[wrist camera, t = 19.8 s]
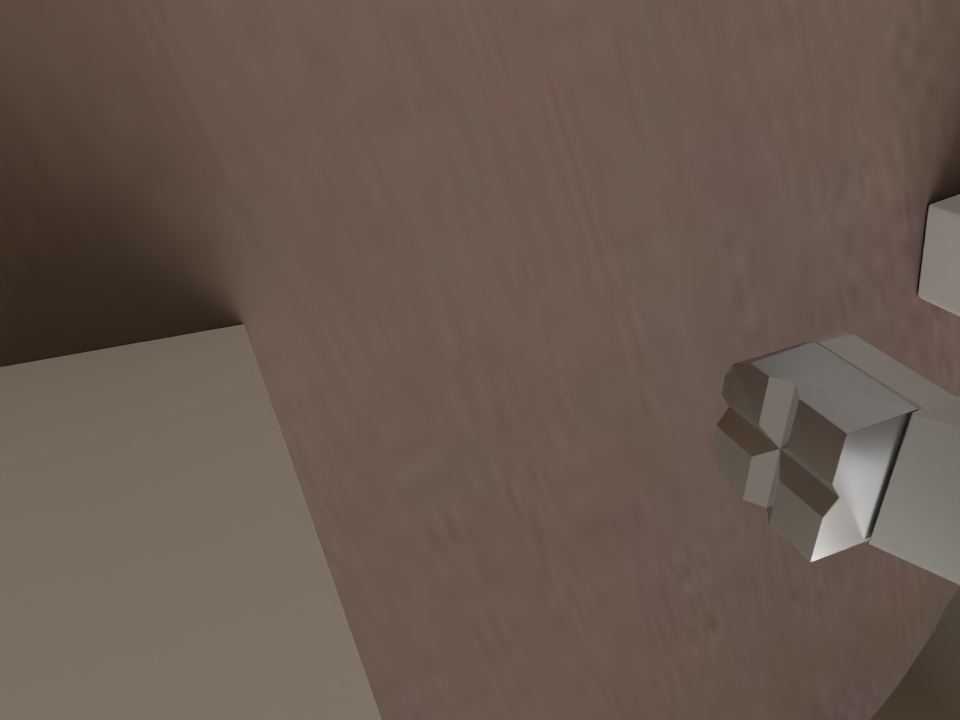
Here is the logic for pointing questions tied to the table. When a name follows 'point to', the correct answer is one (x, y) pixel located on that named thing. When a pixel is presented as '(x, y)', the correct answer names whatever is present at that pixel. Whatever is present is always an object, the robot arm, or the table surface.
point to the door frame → (162, 545)
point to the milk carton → (942, 256)
